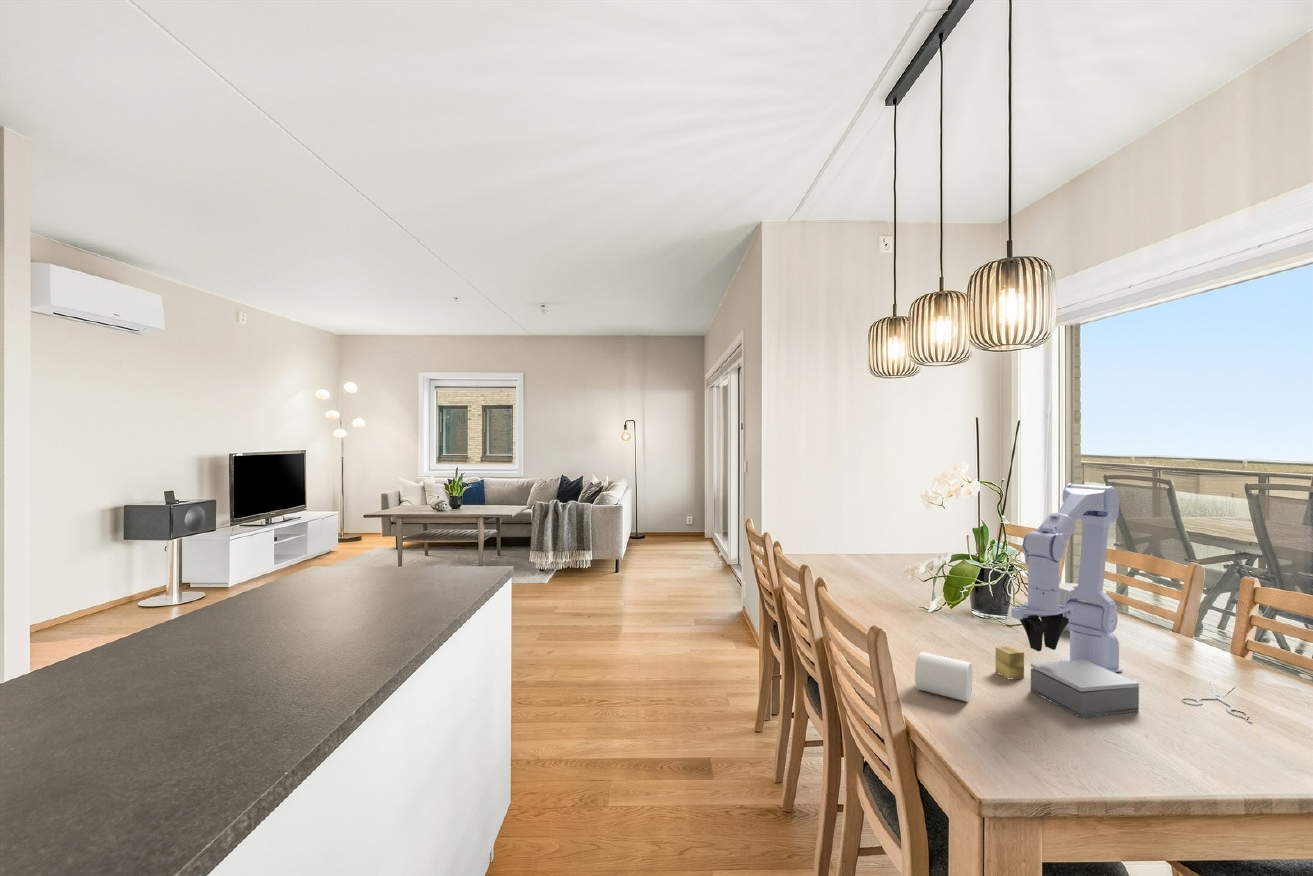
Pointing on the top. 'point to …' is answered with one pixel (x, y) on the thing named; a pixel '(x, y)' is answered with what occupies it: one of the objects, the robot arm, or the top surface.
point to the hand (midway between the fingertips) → (1043, 648)
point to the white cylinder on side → (944, 676)
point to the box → (1085, 697)
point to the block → (1010, 662)
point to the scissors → (1215, 697)
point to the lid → (1084, 675)
